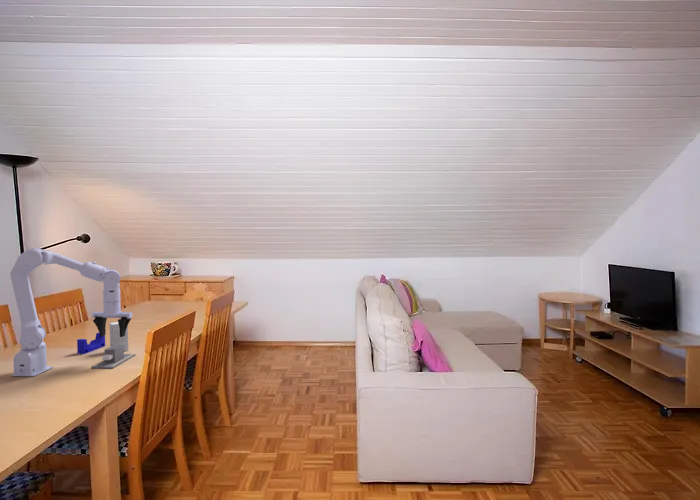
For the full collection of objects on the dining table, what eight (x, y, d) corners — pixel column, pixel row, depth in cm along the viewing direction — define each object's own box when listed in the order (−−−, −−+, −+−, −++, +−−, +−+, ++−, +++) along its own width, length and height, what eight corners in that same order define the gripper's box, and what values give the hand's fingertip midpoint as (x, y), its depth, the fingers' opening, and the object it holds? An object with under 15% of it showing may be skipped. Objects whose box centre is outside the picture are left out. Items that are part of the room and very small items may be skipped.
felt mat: (112, 368, 155) (112, 366, 155) (91, 368, 155) (91, 366, 155) (135, 355, 171) (135, 353, 171) (115, 355, 171) (115, 353, 171)
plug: (124, 357, 166) (123, 345, 166) (111, 364, 158) (111, 351, 158) (113, 357, 166) (113, 344, 166) (100, 364, 158) (100, 351, 158)
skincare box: (125, 348, 181) (125, 320, 180) (128, 350, 178) (128, 322, 177) (109, 351, 177) (109, 322, 176) (112, 353, 174) (111, 324, 173)
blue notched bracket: (95, 345, 185) (95, 332, 184) (105, 346, 184) (104, 332, 184) (74, 354, 173) (73, 339, 173) (84, 354, 172) (83, 340, 172)
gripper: (136, 299, 166) (136, 334, 167) (99, 299, 166) (100, 333, 167) (126, 303, 159) (126, 338, 160) (88, 302, 159) (88, 338, 160)
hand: (112, 336), depth 163 cm, fingers open, 7 cm apart
